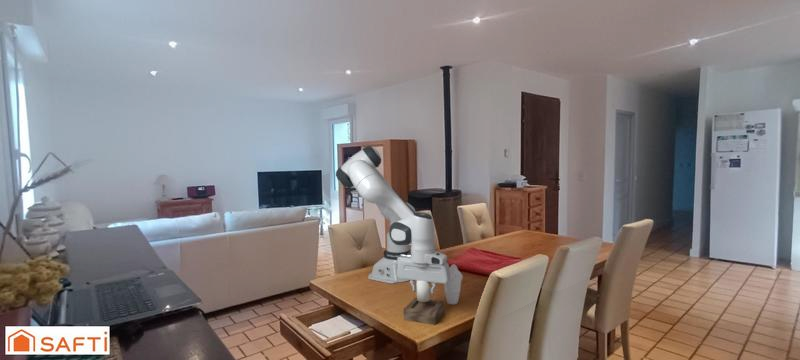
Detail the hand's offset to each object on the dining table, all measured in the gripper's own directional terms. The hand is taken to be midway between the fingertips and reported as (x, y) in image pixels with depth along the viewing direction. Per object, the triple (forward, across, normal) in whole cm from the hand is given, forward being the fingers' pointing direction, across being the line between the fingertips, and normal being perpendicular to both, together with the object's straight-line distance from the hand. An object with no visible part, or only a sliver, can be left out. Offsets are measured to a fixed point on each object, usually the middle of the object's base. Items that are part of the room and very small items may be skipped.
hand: (423, 292), depth 138 cm
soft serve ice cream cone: (+9, +7, +16) cm, 20 cm away
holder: (+9, 0, 0) cm, 9 cm away
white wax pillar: (+3, 0, 0) cm, 3 cm away
